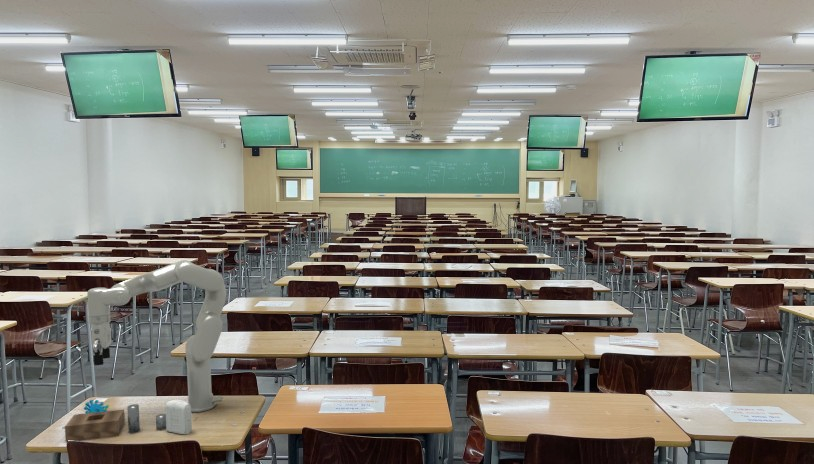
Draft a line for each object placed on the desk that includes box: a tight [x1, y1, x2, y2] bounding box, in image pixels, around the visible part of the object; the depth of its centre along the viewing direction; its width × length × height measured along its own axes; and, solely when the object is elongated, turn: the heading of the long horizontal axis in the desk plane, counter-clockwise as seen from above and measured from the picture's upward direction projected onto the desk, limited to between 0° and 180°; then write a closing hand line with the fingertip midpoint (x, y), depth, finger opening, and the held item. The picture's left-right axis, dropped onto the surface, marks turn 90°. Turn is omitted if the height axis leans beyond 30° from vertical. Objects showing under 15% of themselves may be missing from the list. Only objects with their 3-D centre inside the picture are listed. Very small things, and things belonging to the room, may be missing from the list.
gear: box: [83, 399, 110, 414], centre depth 237 cm, size 11×6×10 cm
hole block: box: [64, 408, 126, 442], centre depth 222 cm, size 18×12×6 cm, turn 106°
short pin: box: [155, 413, 166, 431], centre depth 226 cm, size 4×4×5 cm
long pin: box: [127, 403, 141, 434], centre depth 223 cm, size 4×4×10 cm
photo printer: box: [165, 399, 193, 435], centre depth 222 cm, size 10×4×12 cm, turn 69°
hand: (102, 361), depth 228 cm, fingers open, 9 cm apart
